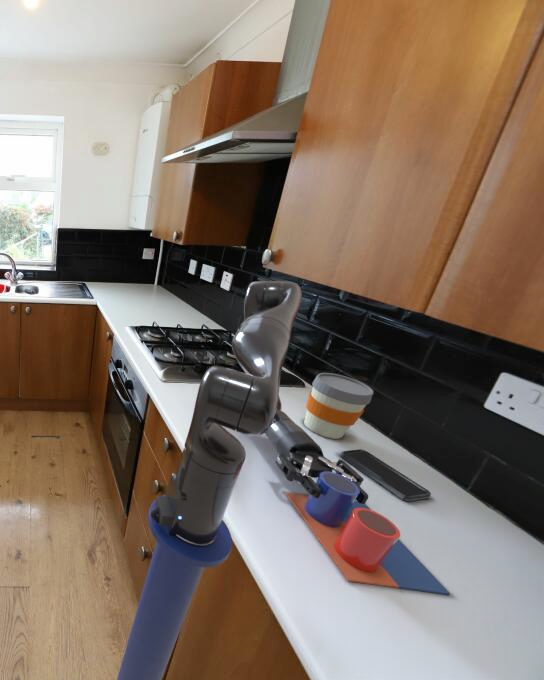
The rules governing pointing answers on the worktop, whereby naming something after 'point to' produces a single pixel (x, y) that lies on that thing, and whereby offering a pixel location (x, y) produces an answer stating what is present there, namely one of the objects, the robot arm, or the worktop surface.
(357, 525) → the red beaker
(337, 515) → the blue beaker
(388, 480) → the phone
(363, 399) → the reusable coffee cup
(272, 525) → the worktop surface
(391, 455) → the worktop surface
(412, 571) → the sorting mat
